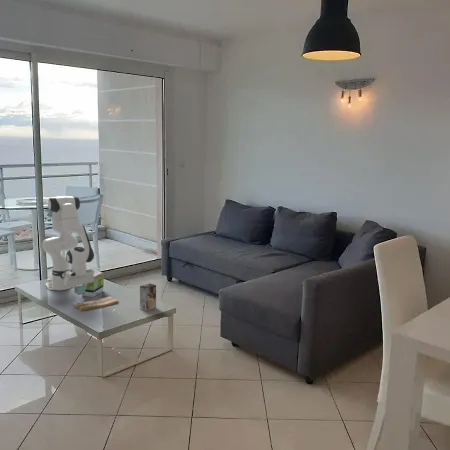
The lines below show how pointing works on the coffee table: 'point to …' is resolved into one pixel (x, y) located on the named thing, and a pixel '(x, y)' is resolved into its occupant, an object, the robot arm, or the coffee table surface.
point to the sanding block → (80, 289)
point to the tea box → (95, 285)
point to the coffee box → (147, 297)
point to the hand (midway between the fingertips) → (79, 290)
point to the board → (96, 303)
